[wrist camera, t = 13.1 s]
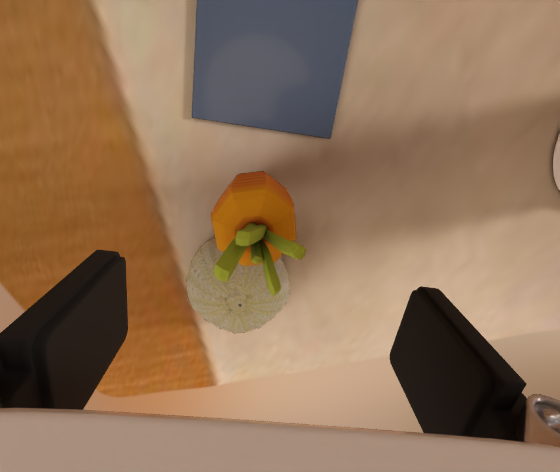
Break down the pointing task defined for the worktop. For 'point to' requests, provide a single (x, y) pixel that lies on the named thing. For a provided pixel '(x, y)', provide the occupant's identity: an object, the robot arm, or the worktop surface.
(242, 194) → the carrot
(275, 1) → the napkin
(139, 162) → the worktop surface
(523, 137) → the worktop surface
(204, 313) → the sea urchin shell
